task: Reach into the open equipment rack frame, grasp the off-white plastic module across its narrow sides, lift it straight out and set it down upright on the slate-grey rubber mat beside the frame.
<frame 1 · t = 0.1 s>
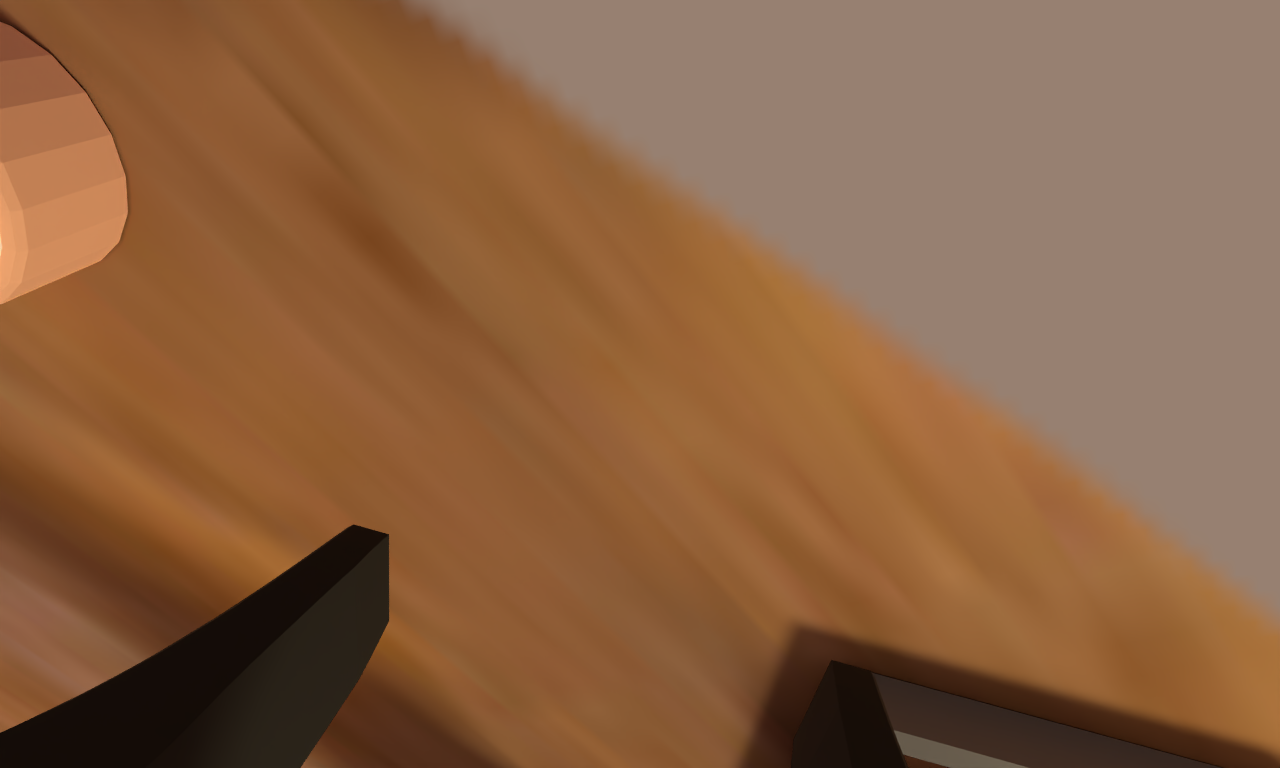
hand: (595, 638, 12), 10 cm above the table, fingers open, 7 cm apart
salt shaker: (18, 147, 22), on the table
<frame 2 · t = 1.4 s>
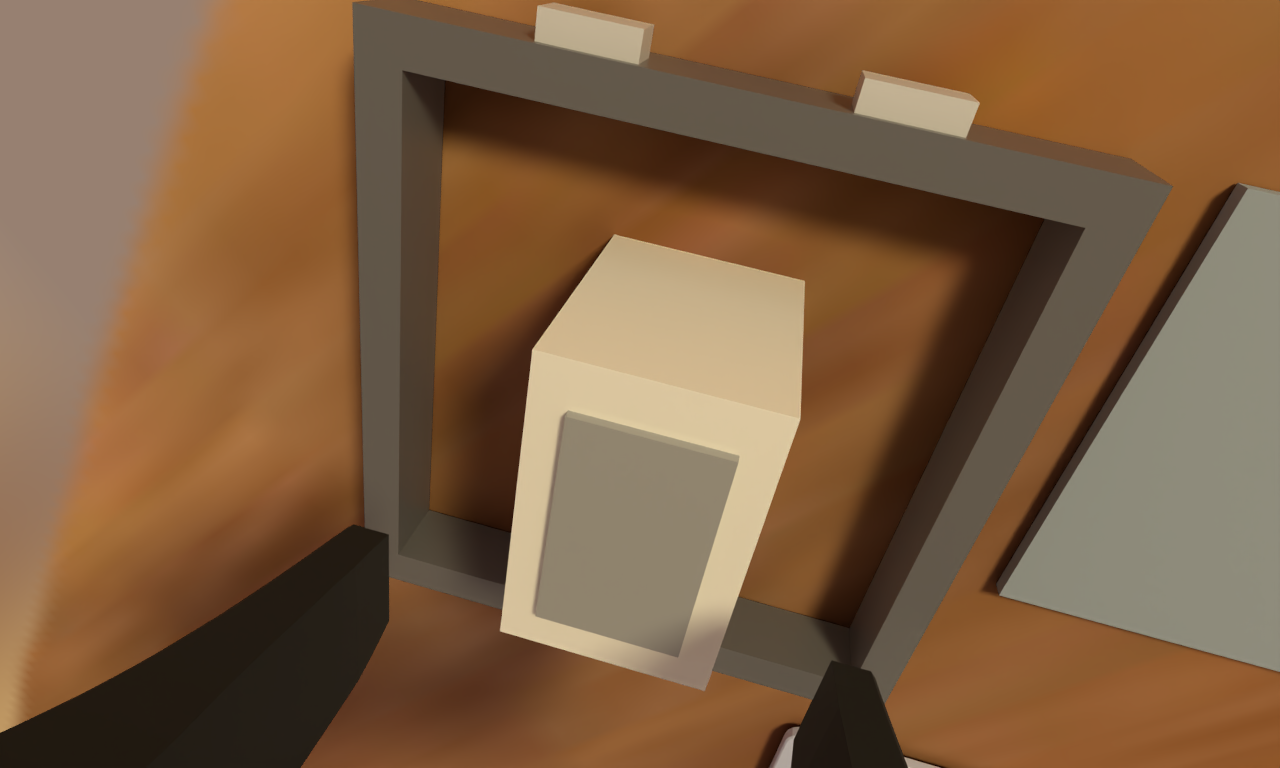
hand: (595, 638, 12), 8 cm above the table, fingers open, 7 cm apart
module: (678, 383, 19), resting in open equipment rack frame
open equipment rack frame: (677, 385, 19), on the table
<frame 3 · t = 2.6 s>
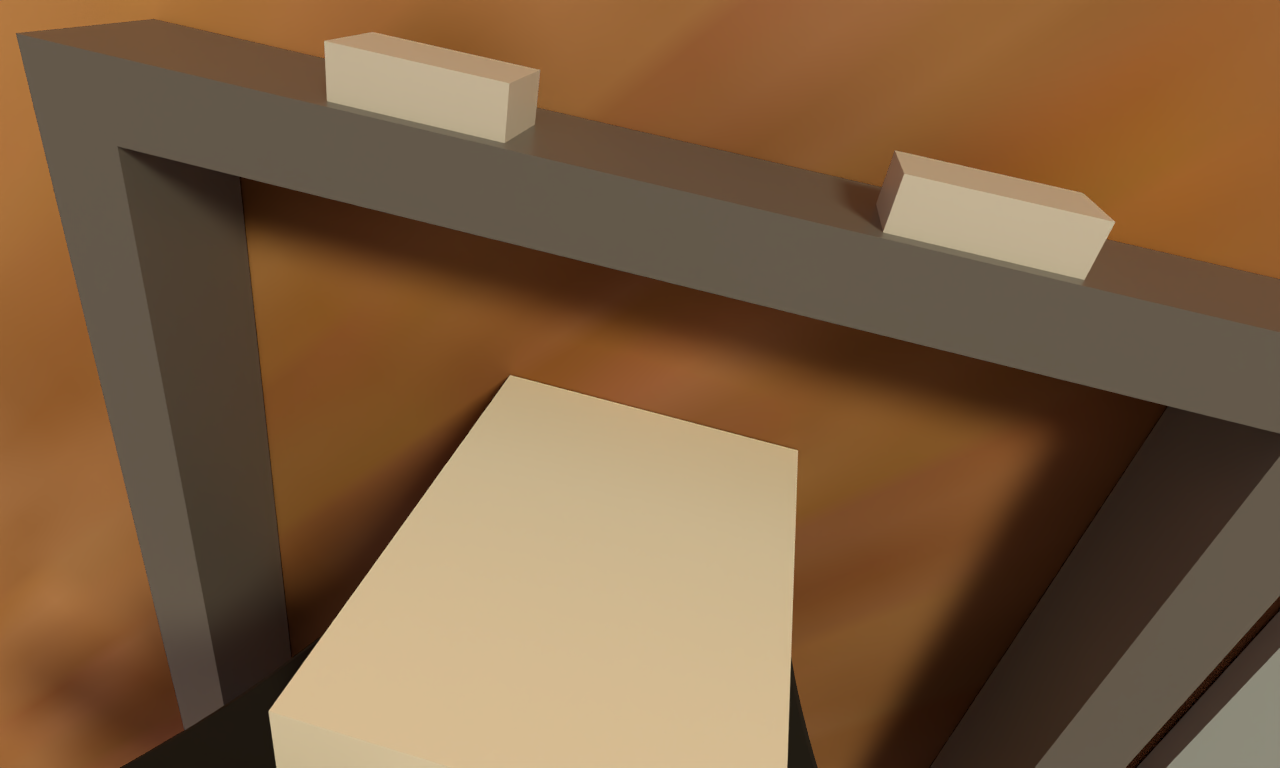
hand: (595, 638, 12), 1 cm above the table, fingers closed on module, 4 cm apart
module: (615, 574, 13), resting in open equipment rack frame, touching gripper
open equipment rack frame: (615, 575, 13), on the table
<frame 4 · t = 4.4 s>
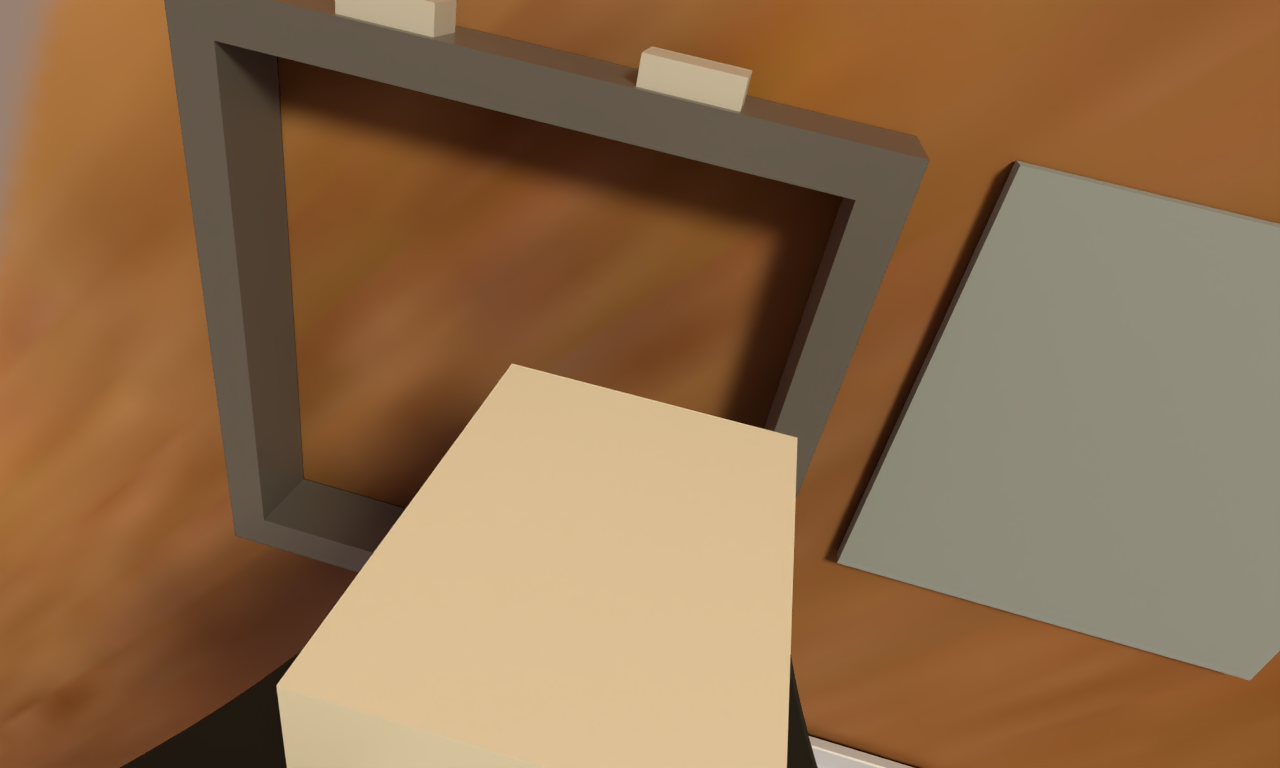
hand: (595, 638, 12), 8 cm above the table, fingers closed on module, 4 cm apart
module: (616, 563, 13), point 7 cm above the table, touching gripper
slate mat: (1145, 450, 17), on the table
open equipment rack frame: (523, 356, 20), on the table
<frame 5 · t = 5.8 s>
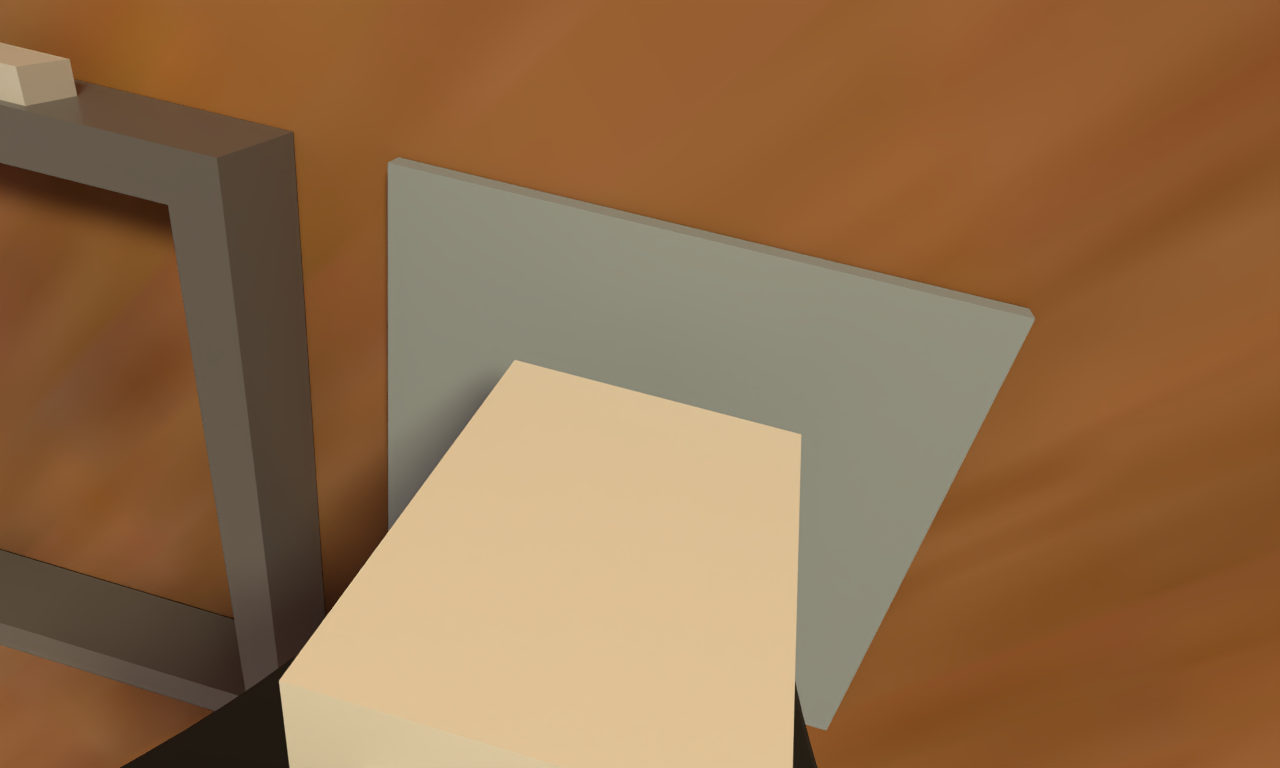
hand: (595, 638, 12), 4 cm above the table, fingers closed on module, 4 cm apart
module: (619, 560, 13), point 3 cm above the table, touching gripper
slate mat: (645, 479, 16), on the table
open equipment rack frame: (21, 380, 18), on the table
when the fingers open (3 cm above the table, at t = 6.5 s): module stays where it is, resting on slate mat.
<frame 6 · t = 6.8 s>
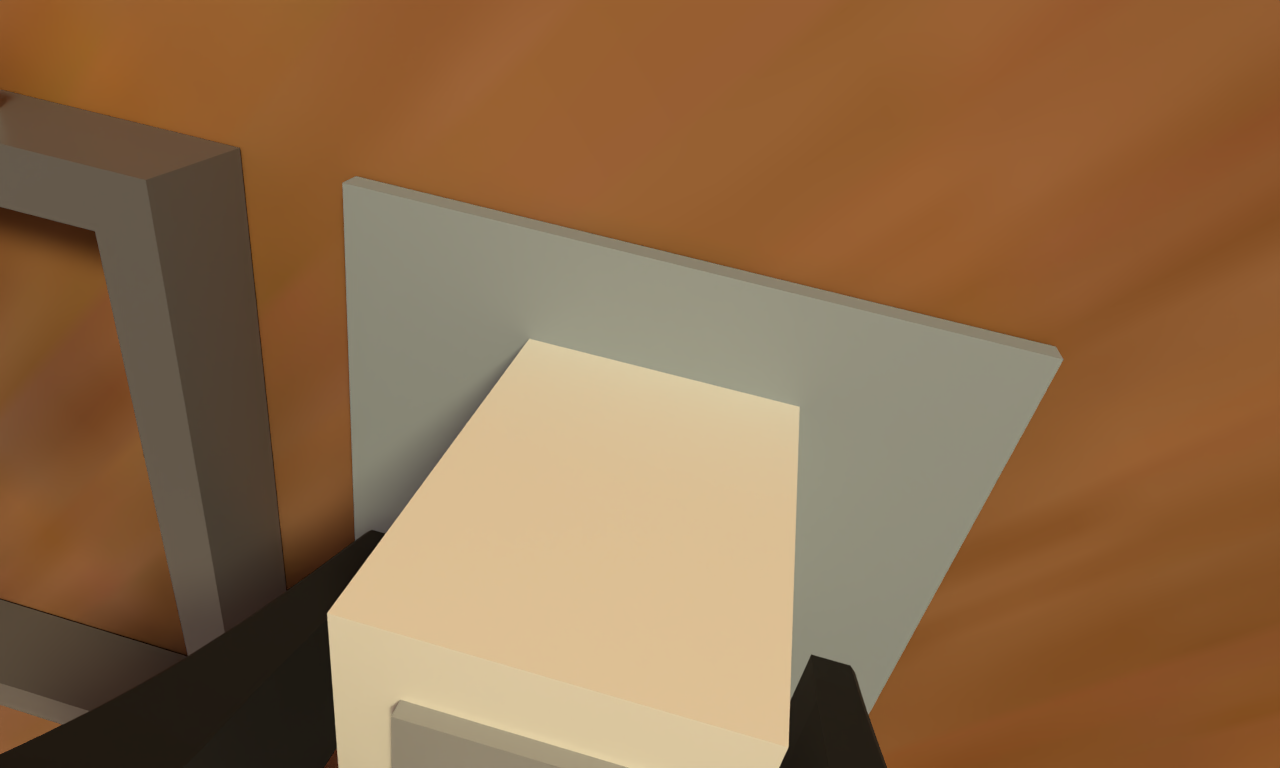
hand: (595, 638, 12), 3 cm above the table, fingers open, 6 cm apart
module: (627, 531, 14), resting on slate mat
slate mat: (632, 523, 14), on the table
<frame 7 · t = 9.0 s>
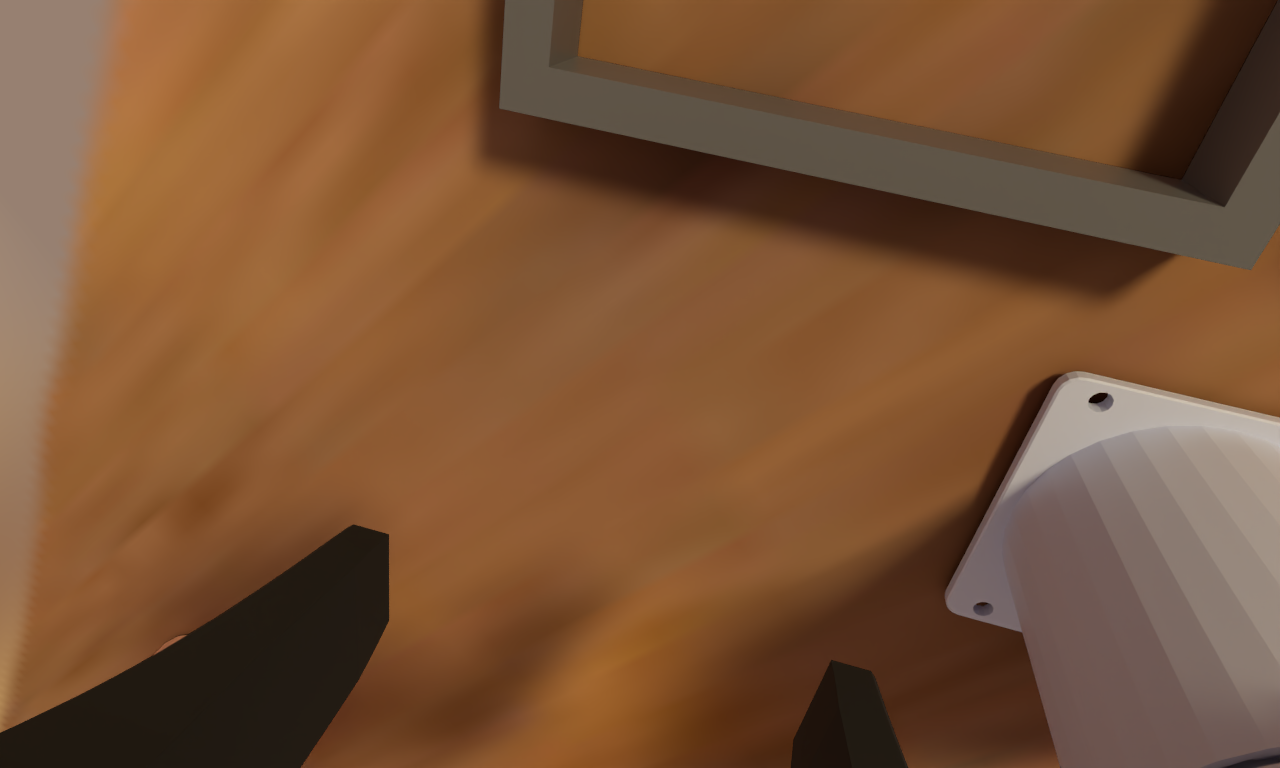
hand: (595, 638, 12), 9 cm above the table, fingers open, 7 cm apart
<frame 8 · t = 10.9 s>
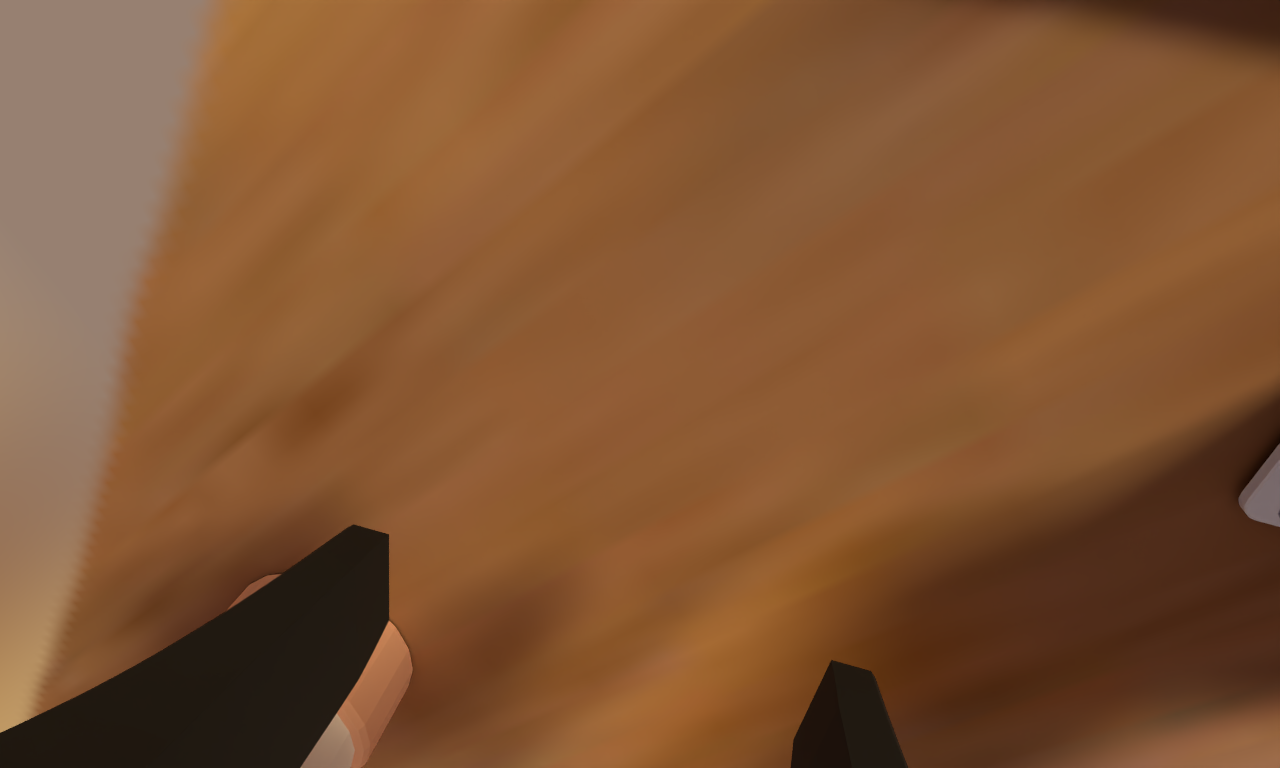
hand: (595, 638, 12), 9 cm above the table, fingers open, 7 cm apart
salt shaker: (328, 638, 29), on the table
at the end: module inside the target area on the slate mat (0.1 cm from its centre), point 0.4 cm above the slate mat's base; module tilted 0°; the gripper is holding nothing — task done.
